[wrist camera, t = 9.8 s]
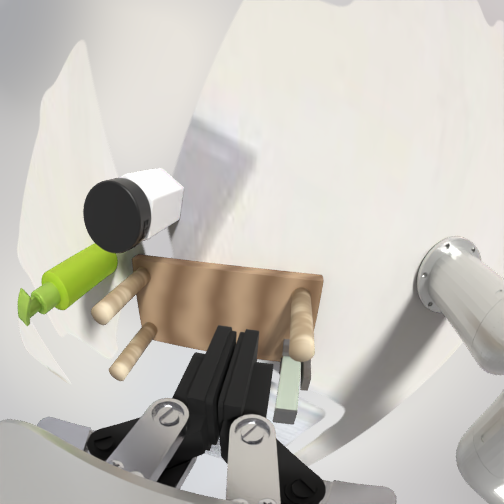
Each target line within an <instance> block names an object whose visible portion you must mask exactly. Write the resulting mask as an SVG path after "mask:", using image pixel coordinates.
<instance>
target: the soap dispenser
mask: <svg viewBox="0 0 504 504" xmlns="http://www.w3.org/2000/svg"><path fill="white" fill-rule="evenodd" d="M117 264H118V260H117V256H116V253H110V252H107V251H105V250H103V249H101V248H100V247H99V246H98V245H97V244H96V243H95V244H93V245H91V246H89V247H87V248H86V249H84V250H82V251H80V252H79V253H77V254H75V255H73V256H72V257H70V258H68V259H67V260H65V261H63V262H61V263H60V264H58V265H56V266H55V267H53V268H52V269H50V270H48V271H47V272H45V273H44V274H43V276H42V286H40V287H39V288H37V289H36V290H34V291H33V292H32V293H31V297H30V296H29V295H28V294H27V293H26V292H25V291H24V290H23V289H22V288H21V289H20V293H19V297H18V316H19V318H20V319H21V320H22V321H23V322H24V323H25V324H26V326H28V325H29V324H30V318H31V317H32V316H33V315H34V314H36V313H37V312H39V313H41V314H46V313H47V312H49V311H50V310H51V309H52V308H54V307H56V308H57V309H59V310H65V309H67V308H68V307H69V306H70V305H72V304H73V303H74V302H75V301H77V300H78V299H79V298H80V297H82V296H83V295H84V294H85V293H87V292H88V291H89V290H90V289H92V288H93V287H94V286H96V285H97V284H98V283H99V282H101V281H102V280H103V279H105V278H106V277H107V276H109V275H110V274H111V273H113V272H114V271H115V270H116V268H117Z"/></svg>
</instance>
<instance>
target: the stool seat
mask: <svg viewBox="0 0 504 504" xmlns="http://www.w3.org/2000/svg"><path fill="white" fill-rule="evenodd" d="M132 264H133V273H132V274H131V275H130V276H129V277H127V278H126V279H125V280H124V281H123V282H122V283H120V284H119V285H118V286H117V287H116V288H114V289H113V290H112V291H111V292H110V293H109V294H108V295H106V296H105V297H104V298H103V299H102V300H101V301H99V302H98V303H97V304H96V305H95V306H94V307H93V308H92V309H91V314H92V316H93V318H94V320H95V321H96V322H97V323H99V324H101V325H106V324H107V323H108V322H109V321H110V320H111V319H112V318H113V317H114V316H115V315H116V314H117V313H118V312H119V311H120V310H121V309H122V308H123V307H124V306H125V305H126V304H127V302H129V301H130V300H131V299H132V298H133V297H134V296H135V295H137V302H138V308H139V314H140V320H141V325H142V328H141V329H140V330H139V332H138V333H137V334H136V335H135V337H134V338H133V339H132V340H131V341H130V343H129V344H128V345H127V346H126V348H125V349H124V350H123V352H122V353H121V354H120V355H119V357H118V358H117V359H116V361H115V362H114V363H113V364H112V366H111V367H110V368H109V372H110V374H111V375H112V376H113V377H114V378H115V379H117V380H119V381H123V380H124V379H125V378H126V376H127V375H128V373H129V372H130V371H131V369H132V368H133V366H134V365H135V363H136V362H137V360H138V359H139V358H140V356H141V355H142V353H143V352H144V350H145V349H146V348H147V346H148V345H149V343H150V342H151V341H152V340H156V341H160V342H164V343H169V344H174V345H178V346H183V347H188V348H193V349H198V350H204V351H207V349H208V347H209V345H210V342H211V340H212V338H213V336H214V333H215V331H216V329H217V327H218V325H221V326H228V327H232V331H236V332H237V337H236V343H237V340H238V337H239V334H240V332H245V330H246V329H249V330H257V331H259V341H258V352H257V359H262V360H270V361H279V362H280V371H279V374H280V372H281V365H282V359H283V356H289V357H291V358H292V359H293V360H295V361H298V362H301V390H308V387H309V384H310V380H311V358H312V357H313V356H314V354H315V348H314V328H315V323H316V318H317V313H318V308H319V303H320V298H321V292H322V287H323V276H322V275H317V274H307V273H297V272H288V271H278V270H269V269H259V268H250V267H241V266H232V265H223V264H215V263H206V262H198V261H189V260H181V259H173V258H164V257H156V256H148V255H141V254H138V255H136V256H135V257H134V258H132Z"/></svg>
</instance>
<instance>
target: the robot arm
mask: <svg viewBox="0 0 504 504" xmlns="http://www.w3.org/2000/svg"><path fill="white" fill-rule="evenodd" d="M417 291H418V295H419V297H420V300H421V301H422V303H423V304H424V305H425V306H426V308H428V309H429V310H431V311H433V312H437V313H443V314H444V316H445V317H446V318H447V320H448V321H449V322H450V324H451V325H452V327H453V328H454V329H455V331H456V332H457V334H458V335H459V337H460V338H461V339H462V341H463V342H464V344H465V345H466V347H467V348H468V350H469V351H470V353H471V354H472V356H473V357H474V359H475V360H476V362H477V363H478V365H479V366H480V367H481V368H482V369H483V370H484V371H486V372H487V373H490V374H494V375H504V279H503V278H502V277H501V276H500V275H498V274H497V273H496V272H495V271H493V270H492V269H491V268H490V267H488V266H487V265H486V264H484V263H483V262H482V261H481V256H480V253H479V251H478V249H477V247H476V246H475V245H474V244H473V243H472V242H471V241H469V240H468V239H466V238H464V237H459V236H454V237H449V238H446V239H444V240H442V241H440V242H439V243H438V244H436V245H435V246H434V247H433V248H432V249H431V250H430V251H429V252H428V254H427V255H426V257H425V258H424V260H423V262H422V264H421V266H420V269H419V272H418V277H417ZM236 337H237V332H236V331H232V327H228V326H221V325H218V327H217V329H216V331H215V333H214V336H213V338H212V340H211V342H210V345H209V347H208V349H207V352H206V354H202V353H194V355H193V356H192V359H191V361H190V363H189V365H188V367H187V369H186V371H185V373H184V375H183V377H182V379H181V381H180V384H179V385H178V387H177V390H176V391H175V394H174V396H173V398H164V399H159V400H157V401H155V402H153V403H152V405H150V406H149V408H148V409H147V410H146V411H145V413H144V414H143V415H142V416H141V417H140V418H137V419H134V420H130V421H127V422H124V423H120V424H117V425H113V426H110V427H106V428H102V429H99V430H97V431H94V430H91V428H89V427H85V426H81V425H77V424H73V423H70V422H66V421H63V420H60V419H56V418H53V417H47V418H43V419H42V420H40V422H39V423H38V425H37V426H36V425H33V424H31V423H27V422H24V421H19V420H12V419H7V420H2V421H0V504H396V495H395V493H394V491H393V490H391V489H390V488H387V487H383V486H373V485H364V484H355V483H347V482H341V481H336V480H334V481H333V482H330V481H325V480H322V479H321V478H320V477H319V476H318V475H316V474H315V473H314V472H313V471H312V470H311V469H309V468H308V467H307V466H306V465H305V464H304V463H302V462H301V461H300V460H299V459H298V458H297V457H296V456H295V455H293V454H292V453H291V452H290V451H289V450H288V449H287V448H286V447H285V446H284V445H283V444H281V443H280V442H279V441H278V440H277V439H276V432H275V428H274V425H273V424H272V423H271V421H269V420H268V419H267V418H266V414H267V408H268V401H269V394H270V386H271V379H272V372H273V364H267V363H259V362H257V352H258V341H259V331H257V330H249V329H246V330H245V332H240V334H239V337H238V340H237V343H236ZM219 436H220V446H221V457H222V458H223V459H224V460H225V462H226V463H227V464H228V469H227V470H228V471H227V488H226V500H223V499H218V498H213V497H208V496H204V495H199V494H195V493H191V492H187V491H183V490H180V488H181V486H182V484H183V483H184V481H185V479H186V477H187V476H188V474H189V472H190V470H191V469H192V467H193V465H194V463H195V461H196V459H197V456H199V455H202V454H204V453H205V450H209V451H210V448H211V445H212V444H213V445H217V442H218V439H219ZM456 461H457V466H458V469H459V471H460V473H461V475H462V477H463V478H464V480H465V481H466V482H467V483H468V485H469V486H470V487H471V488H472V489H473V490H474V491H476V492H477V493H478V494H479V495H480V496H481V497H482V498H483V499H484V500H486V502H488V503H489V504H504V390H503V391H502V393H501V394H500V395H499V397H498V398H497V399H496V400H495V401H494V402H493V403H492V404H491V406H490V407H489V408H488V409H487V410H486V411H485V412H484V413H483V415H481V416H480V417H479V418H478V420H477V421H476V422H475V423H474V424H473V425H472V426H471V427H470V428H469V429H468V430H467V431H466V433H465V434H464V435H463V437H462V438H461V440H460V442H459V444H458V447H457V450H456Z"/></svg>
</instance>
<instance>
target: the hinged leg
mask: <svg viewBox="0 0 504 504" xmlns="http://www.w3.org/2000/svg"><path fill="white" fill-rule="evenodd" d="M300 366H301V362H298V361H295V360H293V359H292V358H291V357H289V356H283V359H282V365H281V372H280V379H279V386H278V392H277V399H276V405H275V411H274V417H273V422H276V423H285V424H294V421H295V418H296V415H297V407H298V395H299V381H300Z"/></svg>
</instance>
